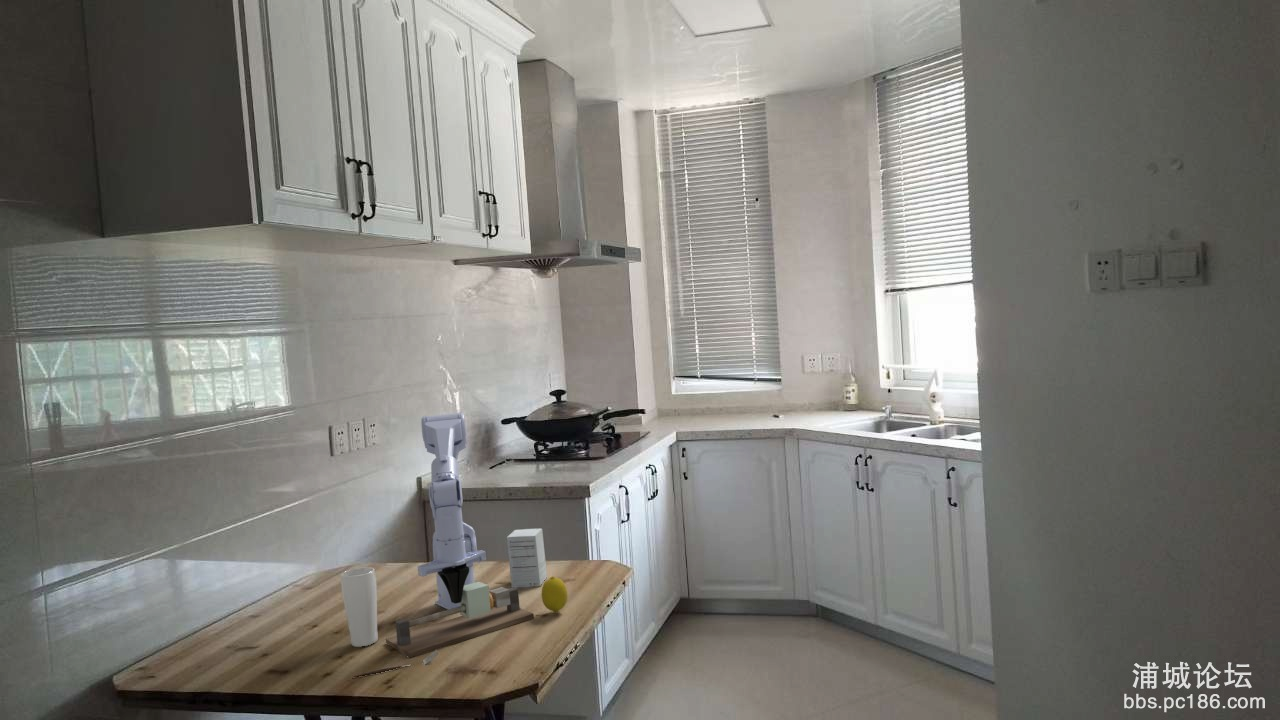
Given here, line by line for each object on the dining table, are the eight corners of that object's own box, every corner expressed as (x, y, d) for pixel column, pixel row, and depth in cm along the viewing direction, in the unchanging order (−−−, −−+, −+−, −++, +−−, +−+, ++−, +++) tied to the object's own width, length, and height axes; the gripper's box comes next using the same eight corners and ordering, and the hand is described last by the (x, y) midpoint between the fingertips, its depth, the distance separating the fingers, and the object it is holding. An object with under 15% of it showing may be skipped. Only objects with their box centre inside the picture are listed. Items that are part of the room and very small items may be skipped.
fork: (350, 678, 159) (349, 667, 158) (437, 659, 164) (436, 648, 164) (351, 683, 156) (350, 672, 156) (439, 663, 162) (438, 653, 162)
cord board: (386, 643, 175) (383, 613, 174) (506, 606, 192) (504, 579, 192) (409, 658, 165) (406, 626, 165) (533, 618, 182) (531, 589, 182)
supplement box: (519, 579, 213) (514, 529, 213) (547, 577, 212) (543, 527, 212) (510, 588, 206) (505, 536, 206) (540, 587, 205) (535, 535, 205)
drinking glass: (372, 634, 181) (365, 565, 180) (387, 641, 176) (380, 569, 175) (341, 645, 176) (334, 573, 176) (356, 652, 171) (349, 578, 171)
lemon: (564, 617, 181) (561, 580, 181) (540, 617, 182) (536, 580, 182) (572, 608, 187) (568, 572, 186) (547, 608, 188) (544, 573, 188)
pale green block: (460, 614, 181) (457, 587, 181) (481, 608, 184) (478, 581, 184) (469, 618, 177) (466, 591, 177) (490, 612, 180) (488, 585, 180)
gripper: (425, 548, 170) (432, 615, 170) (490, 532, 179) (496, 596, 179) (411, 543, 175) (417, 608, 176) (474, 528, 184) (480, 590, 185)
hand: (456, 602), depth 178 cm, fingers closed
